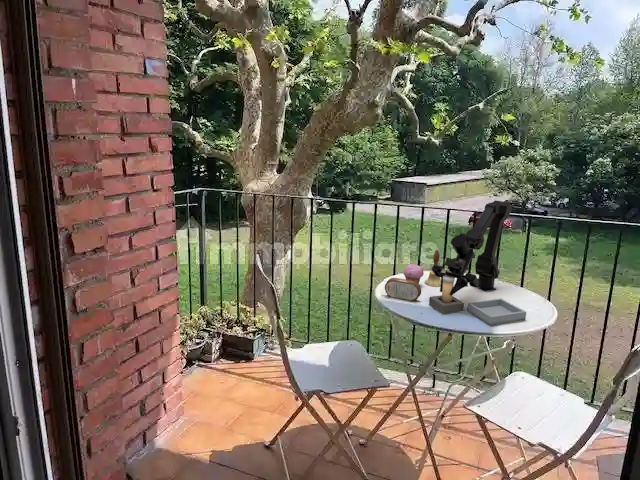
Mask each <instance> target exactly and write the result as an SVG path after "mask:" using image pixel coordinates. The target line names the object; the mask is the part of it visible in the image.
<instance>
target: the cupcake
mask: <svg viewBox="0 0 640 480" xmlns="http://www.w3.org/2000/svg"><path fill="white" fill-rule="evenodd" d="M403 275H404V277H405V280H411V281H415V282H416V283H418V284H419V285H420V280H421V278H422V277H424V275H425V274H424V268H423V267H422V266H420V265H418V264H413V263H412V264H411V263H410V264H408V265H407V266H406V267H405V268H404V270H403Z"/></svg>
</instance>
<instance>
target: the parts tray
mask: <svg viewBox="0 0 640 480" xmlns="http://www.w3.org/2000/svg"><path fill="white" fill-rule="evenodd" d="M466 313H469V314H470V315H472V316H473V317H475V318H477V319H479V321H482V322H483V323H484V324H486V325H488V326H490V327H492V326H493V327H494V326H497V325H507V324H511V323H519V322H525V321H526V318H527V311H526V310H524V309H522V308H520V307H518V306H517V305H514V304H512V303H510V302H508V301H506V300H505V299H503V298H494V299H493V298H492V299H486V300H477V301H470V302H467V304H466Z"/></svg>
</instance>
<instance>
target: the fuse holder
mask: <svg viewBox="0 0 640 480" xmlns="http://www.w3.org/2000/svg"><path fill="white" fill-rule="evenodd" d="M441 300H442V294H440V295H433V296H429V300H428V305H429V306H430V307H432V308H433V309H434V310H436V311H437V312H439V313H440V314H442V315H446V314H447V315H448V314H455V313H460V312H465V302H464V301H462V300H460V299H459V298H457V297H455V296H454V295H452V302H451V303H444V302H442V301H441Z"/></svg>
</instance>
